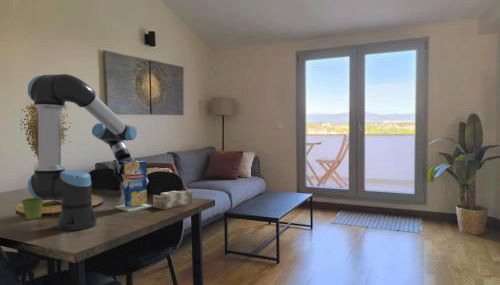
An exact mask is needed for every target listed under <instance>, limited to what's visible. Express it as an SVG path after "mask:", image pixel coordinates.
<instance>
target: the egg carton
mask: <svg viewBox="0 0 500 285" xmlns="http://www.w3.org/2000/svg"><path fill="white" fill-rule="evenodd" d="M192 194H193V193H192V190H178V193H173V194H167V195H162V196H160V195H159V194H158V195H157V194H153V195H152V208H156V209H160V210H163V209H164V210H167V209H168V208H169V209H172V208H177V207H182V206H186V205H190V204H191V203H192V204H193V202H192V199H193V198H192V196H193V195H192Z"/></svg>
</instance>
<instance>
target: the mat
mask: <svg viewBox="0 0 500 285" xmlns="http://www.w3.org/2000/svg"><path fill="white" fill-rule="evenodd" d="M150 207H151V208H153V205H151V204H148V203H147V204H140V205H132V206H125V205H123V204H121V205H116V206H115V208H116V209H117V210H121V211H125V212H128V213H131V212H136V211H139V210H140V211H141V210H145V209H150Z"/></svg>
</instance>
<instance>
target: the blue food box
mask: <svg viewBox="0 0 500 285" xmlns="http://www.w3.org/2000/svg"><path fill="white" fill-rule="evenodd" d="M120 167H122V174H121V175H124V179H125V181H127V183H128V186H127V187H126V188H125V187H124V185H123V183H122V182H121V201H122V203H121V205H125V206H132V205H140V204H147V205H148V197H147V196H148V195H147V194H148V192H147V189H148V188H147V185H148V184H147V181H146V175H147V172H146V169H147V161H146V160H143V159H142V160H139V161H123V162H121V165H120Z"/></svg>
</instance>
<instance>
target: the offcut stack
mask: <svg viewBox="0 0 500 285" xmlns="http://www.w3.org/2000/svg"><path fill="white" fill-rule="evenodd" d="M178 192H179V190H178V191H177V190H171V191H166V192H165V191H164V192H160V193H159V194H160V195H159V196H162V195H167V194H173V193H178Z"/></svg>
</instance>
